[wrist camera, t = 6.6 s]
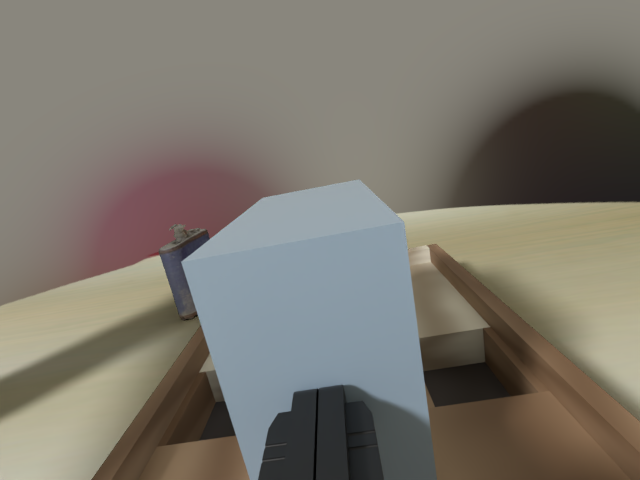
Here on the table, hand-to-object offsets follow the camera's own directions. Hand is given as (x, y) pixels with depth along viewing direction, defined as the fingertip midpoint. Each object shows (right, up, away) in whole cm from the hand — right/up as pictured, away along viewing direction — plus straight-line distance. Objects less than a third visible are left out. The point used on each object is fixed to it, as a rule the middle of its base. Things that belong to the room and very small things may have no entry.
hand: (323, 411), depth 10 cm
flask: (-15, -3, +34) cm, 37 cm away
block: (+1, -4, +7) cm, 8 cm away
